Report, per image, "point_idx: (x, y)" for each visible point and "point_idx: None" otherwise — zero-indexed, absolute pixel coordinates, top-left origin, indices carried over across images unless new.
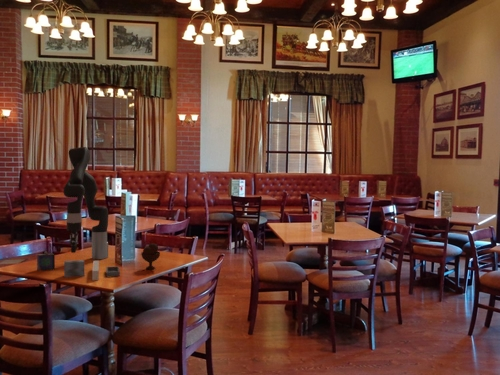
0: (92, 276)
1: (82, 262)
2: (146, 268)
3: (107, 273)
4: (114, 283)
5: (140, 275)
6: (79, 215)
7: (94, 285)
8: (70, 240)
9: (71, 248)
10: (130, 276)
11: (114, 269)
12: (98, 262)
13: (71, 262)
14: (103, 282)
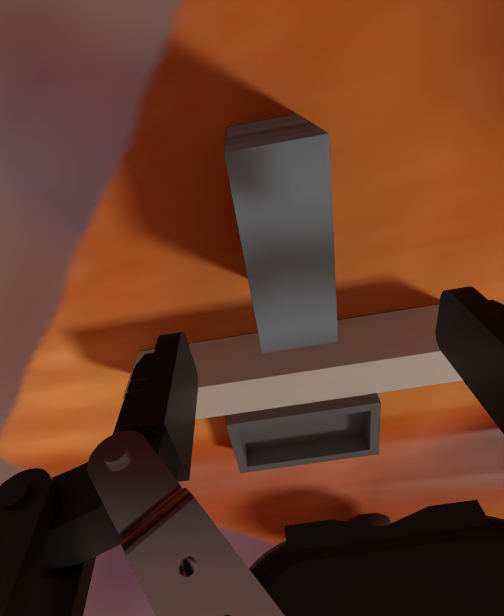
0: (132, 369)
1: (259, 336)
2: (362, 520)
3: (227, 423)
4: (88, 451)
5: (247, 510)
6: None
7: (24, 381)
8: (126, 556)
9: (148, 386)
10: (230, 485)
11: (364, 424)
12: (408, 386)
13: (241, 240)
14: (99, 408)
